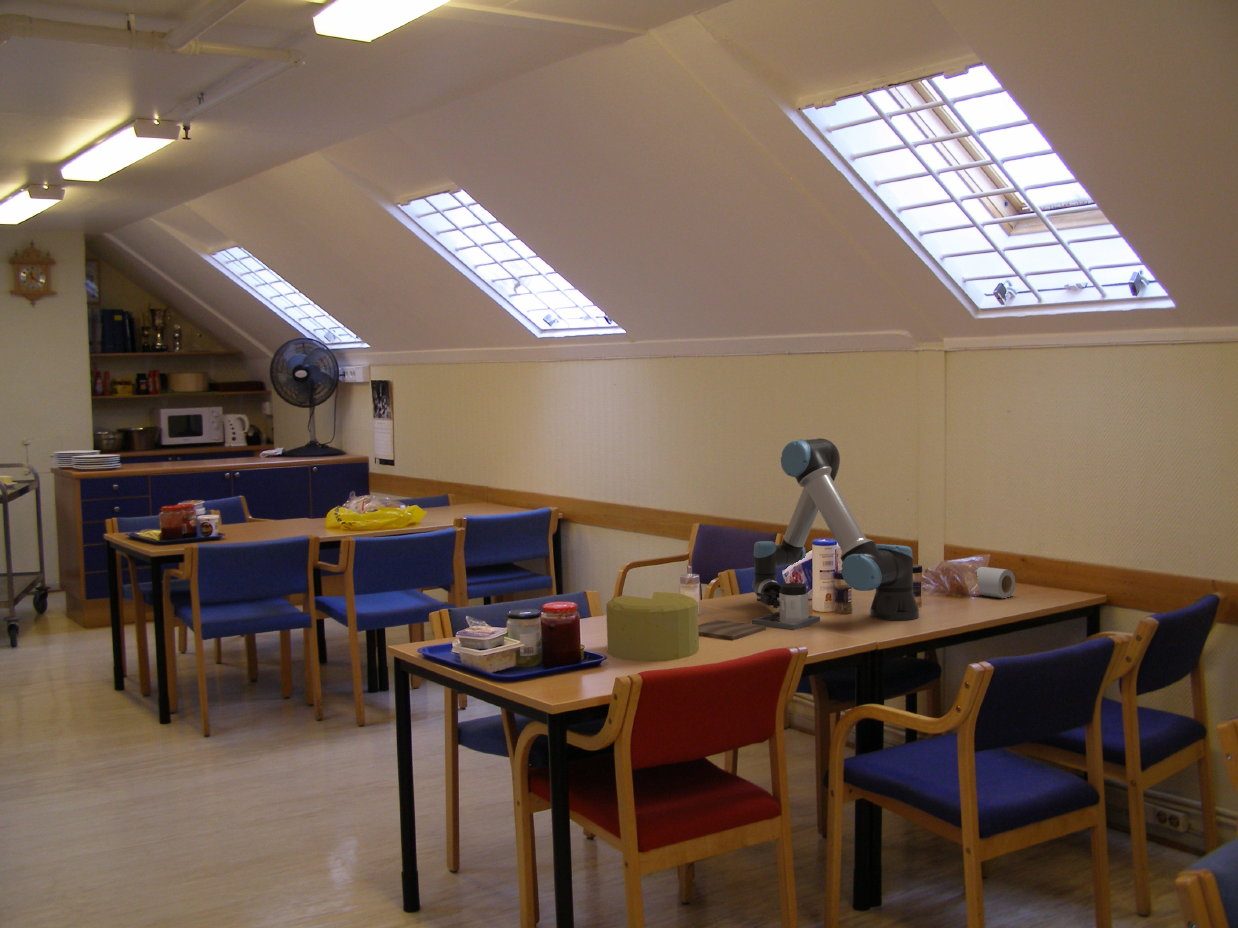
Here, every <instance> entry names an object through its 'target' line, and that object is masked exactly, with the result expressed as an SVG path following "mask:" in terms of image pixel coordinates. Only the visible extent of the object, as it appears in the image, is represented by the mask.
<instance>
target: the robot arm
mask: <svg viewBox="0 0 1238 928" xmlns="http://www.w3.org/2000/svg"><path fill="white" fill-rule="evenodd" d="M840 459H841V456H840V452H839V450H838V447H837V446H836V445H835V444H834V443H833V442H832V441H831V440H828V439H826V438H813V439H812V438H811V439H797V440H792V441H790V442H789V443H787V444H786V445H785V446H784V448H783V449H782V451H781V456H780V465H781V469H782V471H783V472H784V474H786V475H787V476H789V477H791V478H795V479H796V482H797V484H798V485H799V486H800V487H801V488H802V490H801V493H800V495H799V498H798V501H797V503H796V506H795V508H794V511H793V513H792V516H791V519H790V521H789V523H788V526H787V529H786V531H785V534H784V536H783V538H782V540H781V543H780V544H777V543H776V542H774V541H773V540H763V541H761V540H760V541H756V542H754V545H753V554H752V555H753V577H754V578H753V580H752V582H751V587H752V591H753V592H754V593H755V595H756V601H757V602H761V603H762V604H764V605H767V607H770V606H773V607H772V608H773V609H778V608H779V610H780V609H781V610H785V609H784V601H783V600H782V599H781V598H779V593H781V591H780V588H781V585H782V584H780V583H779V582H778V581H777V568H781V567H785V566H786V567H787V566H793V564H794V563H796V562H798V561H799V560H802V559H803V558H805V556H806V554H807V553H806V552H807V551H806V548H805V543H806V541H807V539H808V537H809V535H810V531H811V529H812V527H813V524H814V522H815V519H816V517H817V514H818V513H820V514H821V517H822V519H823V520H824V521H825V523H826V526H827V528H829V531H830V533H831V534H832V536H833V538H834V540H835V541H836V543H837V545H838V547H839V549H840V550H841V553H840V557H839V559H840V560H841V562H842V563H841V570H840V571H841V576H842V578H843V580H844V582H845V583H846V585H847V586H848V587H850V588H852V590H853V589H854V590H856V591H859V592H865V591H866V592H867V591H868V592H869V591H875V593H874V595H873V600H872V603H871V604H870V605H871V606H870V609H869V610H870V617H871V618H873V619H874V618H875V619H877V620H878V619H879V620H885V621H910V620H915V619H917V618H919V617H920V609H919V607H918V603H917V601H916V598H915V594H914V573H913V572H914V569H913V567H914V565H913V564H914V563H913V562H914V561H913V560H914V557H913V549H912V548H911V547H910V546H908V545H898V544H884V543H875V542H874V540H872V539H870V538H867V537H866V535H865V533H864V532H863V530H862V528H861V526H860V525H859V524H858V522H857V520H856V518H855V516H854V515H853V513H852V511H851V510H850V507H849V506H848V504H847V503H846V501H845V499H844V498H843V496H842V494H841V492H840V490H839V488H838V487H837V485H836V483H835V479H836V477H837V474H838V473H839V469H840V464H841V462H840V461H841V460H840ZM794 565H795V564H794ZM791 604H792V610H795V601H794V600H791Z"/></svg>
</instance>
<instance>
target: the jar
mask: <svg viewBox="0 0 1238 928" xmlns="http://www.w3.org/2000/svg"><path fill="white" fill-rule="evenodd" d="M780 585H781V588H780V591H781V593H779V598H781V599H782V600H783V601H784V609H785V610H781V609H780V608H779V612H780V617H779V622H784V623H792V624H793V623H796V622H799V621H802V620H805V619H808V615H809V593H808V592H807V588H808V587H807V584H805V583H803V582H800V583H799V582H788V583H787V582H786V583H781V584H780ZM791 600H794V601H795V610H792V604H791Z"/></svg>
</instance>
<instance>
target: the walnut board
mask: <svg viewBox="0 0 1238 928" xmlns="http://www.w3.org/2000/svg"><path fill="white" fill-rule="evenodd" d="M766 628H767V626H764V625H756V624H752V623H747V622H741V621H732V620H731V621H730V620H723V619H715V620H711V621H707V622H705V623H702V624H698V634H699V637H706V638H713V639H714V638H715V639H721V640H722V639H723V640H728V641H736V640H738V639H741V638H744V637H747V636H750V635H753V634H757V633H759V632H762V631H765V630H766Z"/></svg>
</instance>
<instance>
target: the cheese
mask: <svg viewBox="0 0 1238 928" xmlns="http://www.w3.org/2000/svg"><path fill="white" fill-rule="evenodd" d="M605 606H606V634H607V635H606V637H607V640H606V641H607V653H608V655H609V656H611V657H613V658H616V659H618V660H624V661H625V660H626V661H632V662H665V661H673V660H680V659H685V658H689V656H690V657H692V656H694V655H696V654H698V653H699V650H700V645H699V644H700V643H699V642H700V641H699V637H700V636H699V634H698V625H699V603H698V601H697V600H696V599H695V598H694V597H691V596H688V595H685V594H682V593H676V592H665V591H662V592H661V591H660V592H655V591H654V592H653V594H652V596H651V598H647V597H639V596H630V595H620V596H617V597H614V598H612V599H610V600H609V601H608V602H607V603H606V604H605Z"/></svg>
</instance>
